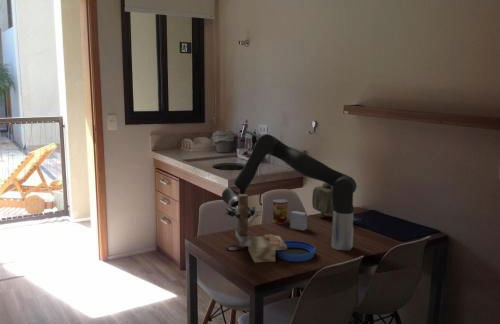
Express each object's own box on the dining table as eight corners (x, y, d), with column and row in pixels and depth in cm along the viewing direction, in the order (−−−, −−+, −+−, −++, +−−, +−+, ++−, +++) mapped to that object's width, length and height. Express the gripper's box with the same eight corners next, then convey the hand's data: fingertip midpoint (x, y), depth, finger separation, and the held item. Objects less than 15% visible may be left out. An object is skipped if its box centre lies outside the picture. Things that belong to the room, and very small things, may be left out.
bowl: (300, 245, 211) (300, 238, 211) (323, 258, 195) (323, 250, 195) (266, 251, 203) (266, 243, 202) (287, 265, 187) (288, 257, 187)
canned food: (276, 224, 242) (276, 202, 241) (270, 220, 250) (270, 199, 248) (289, 223, 245) (290, 201, 243) (283, 219, 253) (283, 198, 251)
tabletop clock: (339, 219, 254) (341, 176, 250) (327, 221, 249) (329, 177, 245) (322, 213, 266) (324, 171, 262) (310, 215, 261) (312, 173, 257)
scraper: (240, 246, 186) (241, 199, 183) (235, 235, 200) (235, 191, 197) (250, 246, 187) (251, 199, 183) (244, 234, 201) (244, 191, 198)
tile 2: (270, 242, 194) (270, 240, 194) (268, 239, 198) (268, 237, 198) (279, 242, 195) (279, 240, 195) (277, 239, 199) (277, 237, 198)
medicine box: (306, 229, 236) (307, 213, 234) (303, 231, 232) (303, 214, 231) (293, 226, 240) (294, 210, 239) (289, 228, 236) (290, 212, 235)
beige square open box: (254, 262, 189) (254, 247, 188) (248, 250, 202) (248, 236, 201) (286, 260, 191) (287, 246, 190) (278, 249, 205) (278, 235, 204)
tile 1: (270, 246, 189) (270, 244, 189) (268, 243, 193) (268, 241, 193) (279, 245, 190) (280, 243, 190) (277, 242, 194) (277, 240, 194)
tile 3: (266, 239, 198) (266, 237, 198) (264, 236, 202) (264, 234, 202) (274, 239, 199) (274, 237, 199) (272, 236, 203) (272, 234, 202)
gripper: (222, 198, 204) (227, 208, 187) (252, 197, 206) (260, 207, 190) (222, 214, 205) (227, 225, 188) (252, 213, 207) (260, 224, 191)
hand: (244, 216), depth 189 cm, fingers closed on scraper, 3 cm apart
